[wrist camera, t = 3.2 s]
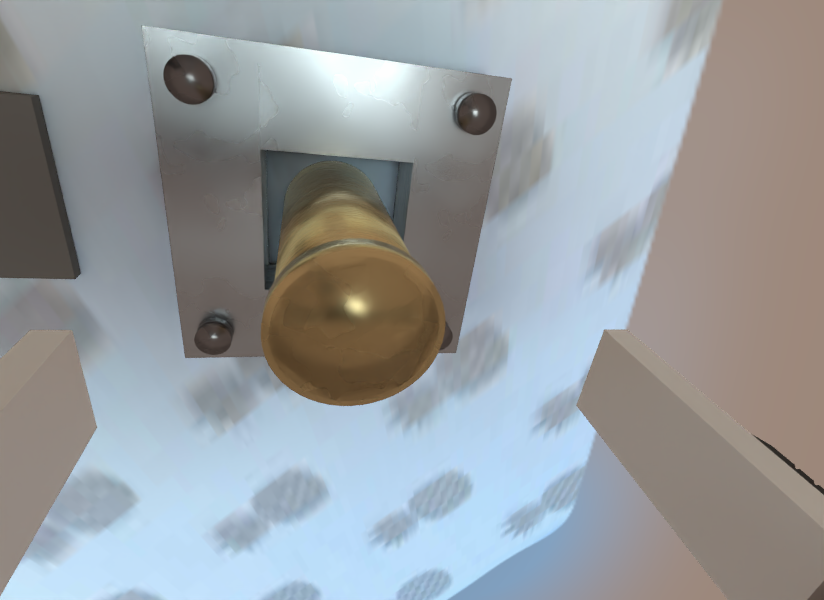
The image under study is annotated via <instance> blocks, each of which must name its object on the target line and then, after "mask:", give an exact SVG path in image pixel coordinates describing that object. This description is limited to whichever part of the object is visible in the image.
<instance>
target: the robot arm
mask: <svg viewBox="0 0 824 600" xmlns="http://www.w3.org/2000/svg"><path fill="white" fill-rule="evenodd" d="M576 406H577V407H578V408H579V409H580V411H581V412H582V413H583V415H584V416H585V417H586V418H587V420H588V421H589V422H590V424H591V425H592V426H593V427H594V429H595V430H596V431H597V433H598V434H599V435H600V436H601V438H602V439H603V440H604V442H605V443H606V444H607V445H608V447H609V448H610V449H611V451H612V452H613V453H614V454H615V456H616V457H617V458H618V459H619V461H620V462H621V463H622V465H623V466H624V467H625V468H626V470H627V471H628V472H629V474H630V475H631V476H632V477H633V478H634V480H635V481H636V483H637V484H638V485H639V486H640V488H641V489H642V490H643V492H644V493H645V494H646V495H647V497H648V498H649V499H650V501H651V502H652V503H653V504H654V506H655V507H656V508H657V510H658V511H659V512H660V513H661V515H662V516H663V517H664V519H665V520H666V521H667V522H668V524H669V525H670V526H671V527H672V529H673V530H674V531H675V532H676V534H677V535H678V537H679V538H680V539H681V540H682V542H683V543H684V544H685V545H686V547H687V548H688V549H689V551H690V552H691V553H692V555H693V556H694V557H695V558H696V560H697V561H698V562H699V563H700V565H701V566H702V567H703V568H704V570H705V571H706V573H707V574H708V575H709V576H710V578H711V579H712V580H713V582H714V583H715V584H716V585H717V587H718V588H719V589H720V591H721V592H722V593H723V594H724V596H725V597H726V598H727V600H824V489H823V488H822V487H821V486H819V485H815V484H814V481H813V480H812V479H811V478H810V477H809V476H807V475H806V474H805V473H804V472H803V471H801V470H800V469H796V468H795V465H794V464H793V463H792V462H791V461H789V460H788V459H787V458H786V457H784V456H783V455H782V454H781V453H780V452H778V451H777V450H776V449H775V448H774V447H772V446H771V445H769V444H768V443H766V442H764V441H763V440H761V439H759V438H758V437H756V436H754V435H752V434H751V433H749V432H748V431H747V430H746V429H745V428H744V427H742V426H741V425H740V424H739V423H738V422H736V421H735V420H734V419H733V418H732V417H730V416H729V415H728V414H727V413H726V412H725V411H723V410H722V409H721V408H720V407H719V406H717V405H716V404H715V403H714V402H713V401H711V400H710V399H709V398H708V397H707V396H706V395H704V394H703V393H702V392H701V391H700V390H698V389H697V388H696V387H695V386H694V385H692V384H691V383H690V382H689V381H688V380H687V379H685V378H684V377H683V376H682V375H681V374H679V373H678V372H677V371H676V370H675V369H674V368H672V367H671V366H670V365H669V364H668V363H666V362H665V361H664V360H663V359H662V358H660V357H659V356H658V355H657V354H656V353H655V352H653V351H652V350H651V349H650V348H649V347H647V346H646V345H645V344H644V343H643V342H641V341H640V340H639V339H638V338H637V337H635V336H634V335H633V334H632V333H631V332H630V331H628V330H604V332H603V335H602V337H601V340H600V343H599V345H598V348H597V351H596V354H595V356H594V359H593V362H592V364H591V367H590V370H589V373H588V375H587V378H586V381H585V383H584V386H583V389H582V392H581V394H580V397H579V400H578V403H577V405H576ZM96 428H97V426H96V422H95V418H94V414H93V410H92V406H91V402H90V398H89V394H88V390H87V387H86V383H85V379H84V375H83V371H82V367H81V363H80V359H79V355H78V351H77V347H76V344H75V340H74V336H73V332H72V330H30V331H29V332H28V333H27V334H26V335H25V336H24V337H23V338H22V339H21V340H20V341H18V342H17V343H16V344H15V345H14V346H13V347H12V348H11V349H10V350H9V351H8V352H7V353H6V354H5V355H4V356H3V357H2V358H1V359H0V596H1V594H2V592H3V590H4V589H5V587H6V585H7V583H8V582H9V580H10V578H11V576H12V575H13V573H14V571H15V570H16V568H17V566H18V564H19V563H20V561H21V559H22V557H23V556H24V554H25V552H26V550H27V549H28V547H29V545H30V543H31V542H32V540H33V538H34V536H35V535H36V533H37V531H38V529H39V528H40V526H41V524H42V522H43V521H44V519H45V517H46V515H47V514H48V512H49V510H50V508H51V507H52V505H53V503H54V502H55V500H56V498H57V496H58V495H59V493H60V491H61V489H62V488H63V486H64V484H65V482H66V481H67V479H68V477H69V475H70V474H71V472H72V470H73V468H74V467H75V465H76V463H77V461H78V460H79V458H80V456H81V454H82V453H83V451H84V449H85V447H86V446H87V444H88V442H89V440H90V439H91V437H92V435H93V434H94V432H95V430H96Z"/></svg>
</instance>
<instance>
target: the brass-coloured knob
mask: <svg viewBox="0 0 824 600" xmlns="http://www.w3.org/2000/svg"><path fill="white" fill-rule="evenodd" d="M445 325H446V324H445V311H444V306H443V303H442V300H441V297H440V295H439V293H438V291H437V289H436V287H435V285H434V284H433V282H432V280H431V278H430V277H429V275H428V273H427V272H426V271H425V269H424V268H423V267H422V266H421V265H420V264H419V263H418V262H417V261H416V260H415V259H414V258H413V257H412V256H411V255H410V253H409V251H408V250H407V248H406V246H405V244H404V242H403V240H402V238H401V236H400V235H399V233H398V231H397V229H396V227H395V225H394V223H393V222H392V220H391V218H390V216H389V214H388V212H387V210H386V208H385V207H384V205H383V203H382V201H381V199H380V197H379V195H378V193H377V192H376V190H375V188H374V186H373V184H372V183H371V181H370V180H369V178H368V177H367V176H366V175H365V174H364V173H363V172H361V171H360V170H359V169H357V168H355V167H354V166H352V165H349V164H347V163H343V162H338V161H322V162H318V163H315V164H312V165H310V166H308V167H306V168H305V169H303V170H302V171H301V172H299V173H298V174H297V175H296V176H295V177H294V179H293V180H292V181H291V183H290V185H289V187H288V189H287V192H286V195H285V200H284V208H283V217H282V225H281V233H280V241H279V249H278V257H277V265H276V273H275V280H274V282H273V284H272V286H271V288H270V289H269V292H268V295H267V297H266V300H265V305H264V310H263V316H262V322H261V343H262V348H263V352H264V355H265V358H266V360H267V362H268V364H269V366H270V368H271V369H272V371H273V372H274V374H275V375H276V376H277V377H278V378H279V379H280V380H281V381H282V382H283V383H284V384H285V385H286V386H287V387H289V388H290V389H291V390H293V391H295V392H296V393H298V394H299V395H302V396H304V397H306V398H308V399H311V400H314V401H317V402H320V403H325V404H329V405H338V406H354V405H363V404H368V403H373V402H377V401H380V400H383V399H386V398H388V397H391V396H393V395H395V394H397V393H399V392H401V391H402V390H404V389H406V388H407V387H409V386H410V385H411V384H413V383H414V382H415V381H416V380H417V379H419V378H420V377H421V376H422V375H423V374H424V373H425V372H426V370H427V369H428V368H429V367H430V365H431V364H432V363H433V361H434V359H435V358H436V356H437V354H438V352H439V350H440V347H441V345H442V342H443V338H444V334H445Z"/></svg>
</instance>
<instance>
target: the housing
mask: <svg viewBox="0 0 824 600" xmlns="http://www.w3.org/2000/svg"><path fill="white" fill-rule="evenodd" d="M142 33H143V40H144V48H145V56H146V63H147V71H148V78H149V86H150V94H151V101H152V109H153V117H154V124H155V132H156V139H157V147H158V155H159V162H160V170H161V177H162V185H163V193H164V200H165V208H166V216H167V223H168V231H169V238H170V246H171V254H172V261H173V269H174V277H175V284H176V292H177V299H178V307H179V315H180V322H181V330H182V337H183V345H184V353H185V358H206V357H258V356H265V355H264V352H263V348H262V343H261V322H262V316H263V310H264V305H265V300H266V297H267V295H268V292H269V289H270V288H271V286H272V284H273V282H274V280H275V273H276V265H277V264H269V250H268V208H267V167H266V150H274V151H285V152H297V153H308V154H319V155H331V156H342V157H353V158H365V159H376V160H387V161H399V170H398V179H397V188H396V198H395V207H394V216H393V223H394V225H395V227H396V229H397V231H398V233H399V235H400V236H401V238H402V240H403V242H404V244H405V246H406V248H407V250H408V251H409V253H410V255H411V256H412V257H413V258H414V259H415V260H416V261H417V262H418V263H419V264H420V265H421V266H422V267H423V268H424V269H425V271H426V272H427V273H428V275H429V277H430V278H431V280H432V282H433V284H434V285H435V287H436V289H437V291H438V293H439V295H440V297H441V300H442V303H443V306H444V311H445V324H446V325H445V334H444V338H443V342H442V345H441V347H440V350H439V352H438V353H456V350H457V345H458V340H459V335H460V330H461V325H462V320H463V315H464V311H465V306H466V301H467V296H468V291H469V286H470V281H471V276H472V271H473V267H474V262H475V257H476V252H477V247H478V242H479V237H480V232H481V227H482V223H483V218H484V213H485V208H486V203H487V198H488V193H489V188H490V183H491V179H492V174H493V169H494V164H495V159H496V154H497V149H498V144H499V139H500V135H501V130H502V125H503V120H504V115H505V110H506V105H507V100H508V95H509V91H510V86H511V81H512V79H511V78H504V77H497V76H490V75H483V74H476V73H469V72H463V71H456V70H449V69H442V68H435V67H428V66H421V65H414V64H407V63H400V62H393V61H386V60H379V59H372V58H365V57H358V56H351V55H344V54H337V53H330V52H323V51H316V50H309V49H302V48H295V47H288V46H282V45H275V44H268V43H261V42H254V41H247V40H240V39H233V38H226V37H219V36H212V35H205V34H198V33H191V32H184V31H177V30H170V29H163V28H156V27H149V26H142Z"/></svg>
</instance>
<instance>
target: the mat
mask: <svg viewBox="0 0 824 600" xmlns="http://www.w3.org/2000/svg"><path fill="white" fill-rule="evenodd" d="M80 274H81V273H80V269H79V265H78V261H77V257H76V252H75V248H74V244H73V240H72V235H71V231H70V227H69V223H68V219H67V214H66V210H65V206H64V202H63V197H62V193H61V189H60V185H59V180H58V176H57V172H56V168H55V164H54V159H53V155H52V151H51V147H50V142H49V138H48V134H47V130H46V126H45V121H44V117H43V113H42V109H41V104H40V100H39V96H38V95H31V94H21V93H12V92H2V91H0V278H46V279H76V278H77V277H78V276H79V275H80Z"/></svg>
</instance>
